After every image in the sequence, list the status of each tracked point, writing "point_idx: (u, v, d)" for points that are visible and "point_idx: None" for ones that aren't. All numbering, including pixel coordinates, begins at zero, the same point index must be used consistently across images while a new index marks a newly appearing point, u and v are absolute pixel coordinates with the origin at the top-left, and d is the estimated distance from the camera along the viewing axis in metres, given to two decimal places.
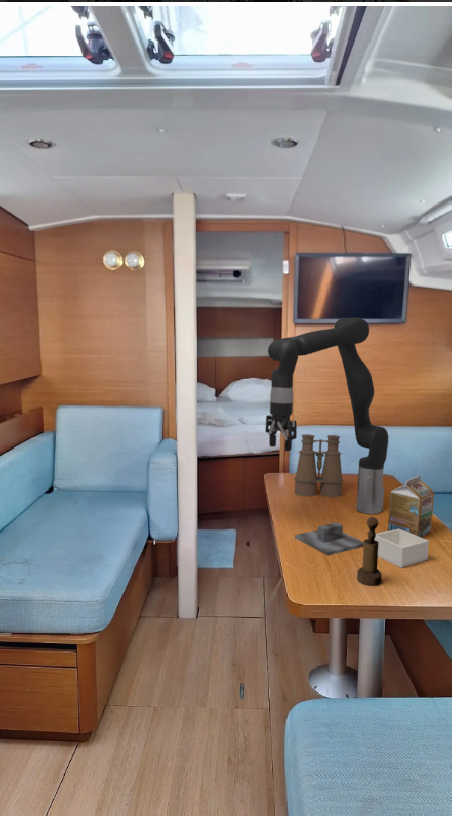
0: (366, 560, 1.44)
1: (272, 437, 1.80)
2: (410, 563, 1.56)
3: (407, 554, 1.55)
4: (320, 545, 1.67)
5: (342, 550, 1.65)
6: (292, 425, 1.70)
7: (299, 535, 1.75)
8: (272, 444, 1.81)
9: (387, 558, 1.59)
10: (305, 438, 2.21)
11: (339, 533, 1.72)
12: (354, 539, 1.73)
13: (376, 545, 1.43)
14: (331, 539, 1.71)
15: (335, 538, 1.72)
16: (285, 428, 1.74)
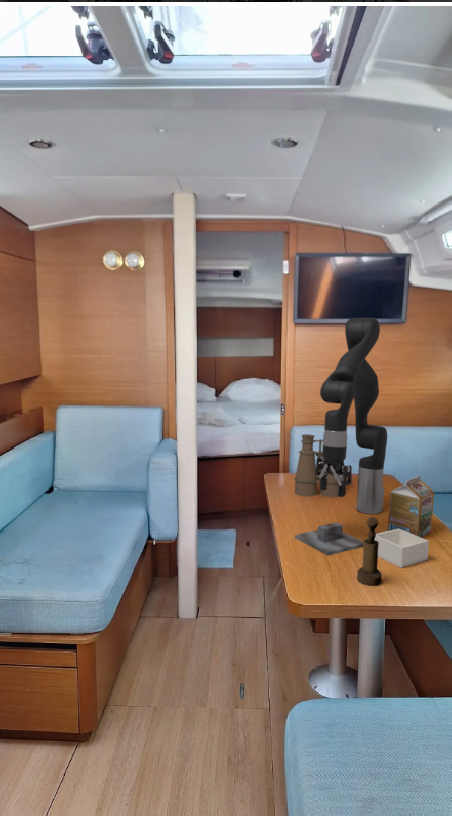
0: (366, 560, 1.44)
1: (323, 480, 1.73)
2: (410, 563, 1.56)
3: (407, 554, 1.55)
4: (320, 545, 1.67)
5: (342, 550, 1.65)
6: (347, 470, 1.63)
7: (299, 535, 1.75)
8: (323, 488, 1.74)
9: (387, 558, 1.59)
10: (305, 438, 2.21)
11: (339, 533, 1.72)
12: (354, 539, 1.73)
13: (376, 545, 1.43)
14: (331, 539, 1.71)
15: (335, 538, 1.72)
16: (339, 473, 1.67)
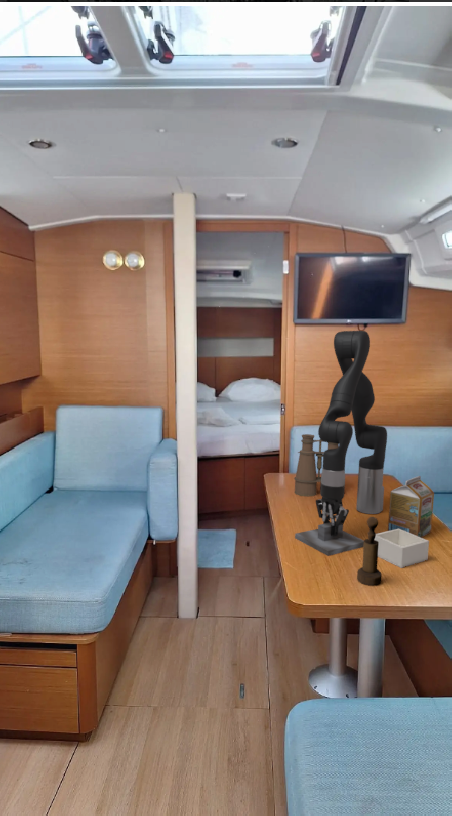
0: (366, 560, 1.44)
1: None
2: (410, 563, 1.56)
3: (407, 554, 1.55)
4: (320, 544, 1.67)
5: (342, 549, 1.65)
6: (343, 515, 1.66)
7: (299, 534, 1.75)
8: None
9: (387, 558, 1.59)
10: (305, 438, 2.21)
11: (339, 532, 1.72)
12: (354, 538, 1.72)
13: (376, 545, 1.43)
14: (331, 538, 1.71)
15: (335, 537, 1.72)
16: None
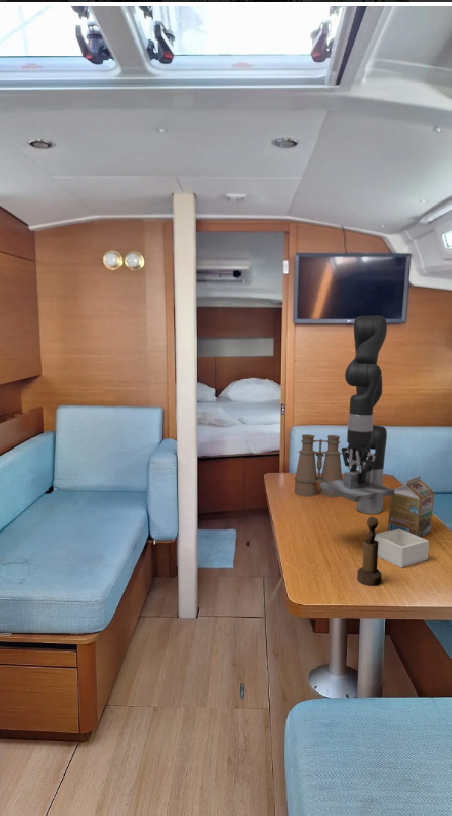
0: (366, 560, 1.44)
1: None
2: (410, 563, 1.56)
3: (407, 554, 1.55)
4: (347, 491, 1.61)
5: (370, 495, 1.58)
6: (371, 460, 1.59)
7: (324, 483, 1.69)
8: None
9: (387, 558, 1.59)
10: (305, 438, 2.21)
11: (366, 480, 1.66)
12: (382, 487, 1.66)
13: (376, 545, 1.43)
14: (358, 486, 1.64)
15: (362, 485, 1.65)
16: None
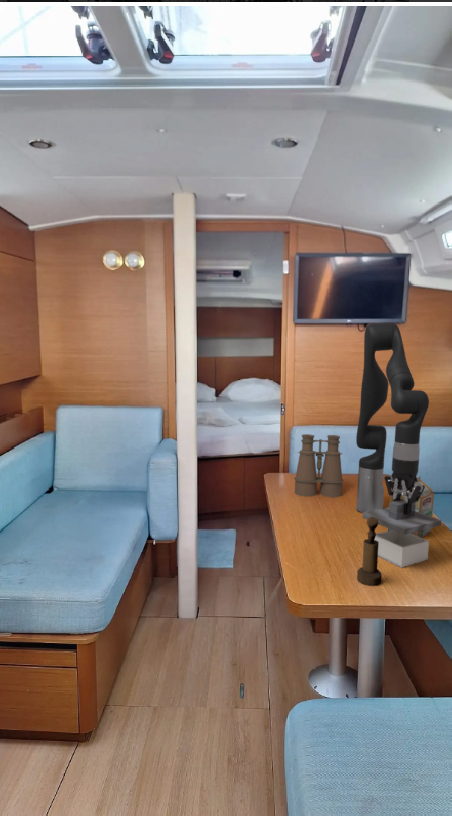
0: (366, 560, 1.44)
1: None
2: (410, 563, 1.56)
3: (407, 554, 1.55)
4: (394, 522, 1.55)
5: (418, 527, 1.53)
6: (419, 491, 1.54)
7: (367, 513, 1.63)
8: None
9: (387, 558, 1.59)
10: (305, 438, 2.21)
11: (412, 510, 1.60)
12: (428, 516, 1.60)
13: (376, 545, 1.43)
14: (404, 516, 1.59)
15: (408, 515, 1.60)
16: None
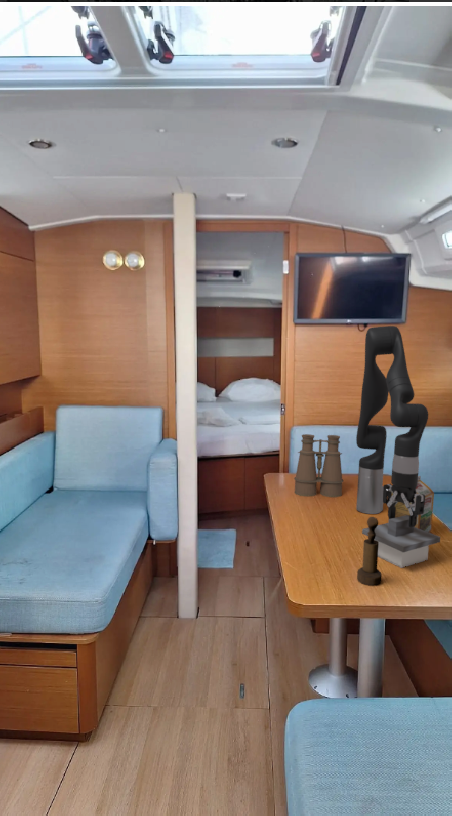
0: (366, 560, 1.44)
1: (392, 509, 1.63)
2: (410, 563, 1.56)
3: (407, 554, 1.55)
4: (393, 539, 1.56)
5: (417, 544, 1.53)
6: (421, 500, 1.54)
7: (367, 529, 1.64)
8: (391, 517, 1.63)
9: (387, 558, 1.59)
10: (305, 438, 2.21)
11: None
12: (427, 533, 1.61)
13: (376, 545, 1.43)
14: (403, 533, 1.60)
15: (407, 532, 1.60)
16: (410, 501, 1.57)
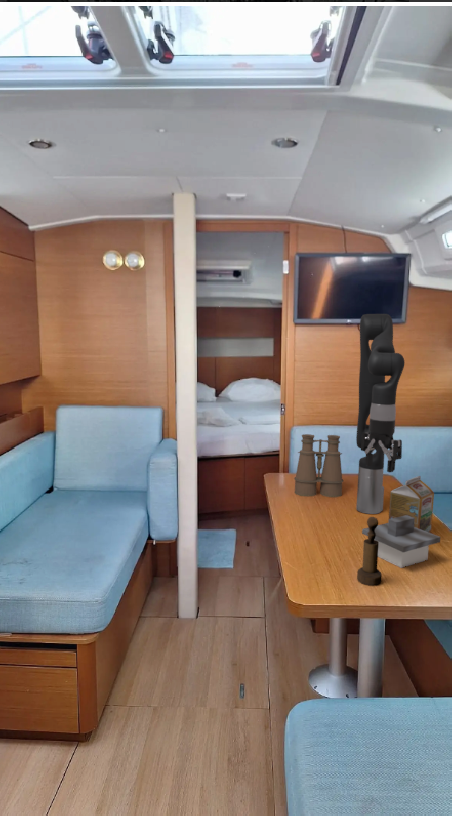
0: (366, 560, 1.44)
1: (369, 456, 1.69)
2: (410, 563, 1.56)
3: (407, 554, 1.55)
4: (393, 539, 1.56)
5: (417, 544, 1.53)
6: (398, 445, 1.59)
7: (367, 529, 1.64)
8: (369, 463, 1.69)
9: (387, 558, 1.59)
10: (305, 438, 2.21)
11: (411, 526, 1.61)
12: (427, 533, 1.61)
13: (376, 545, 1.43)
14: (403, 533, 1.60)
15: (407, 532, 1.60)
16: (387, 447, 1.62)
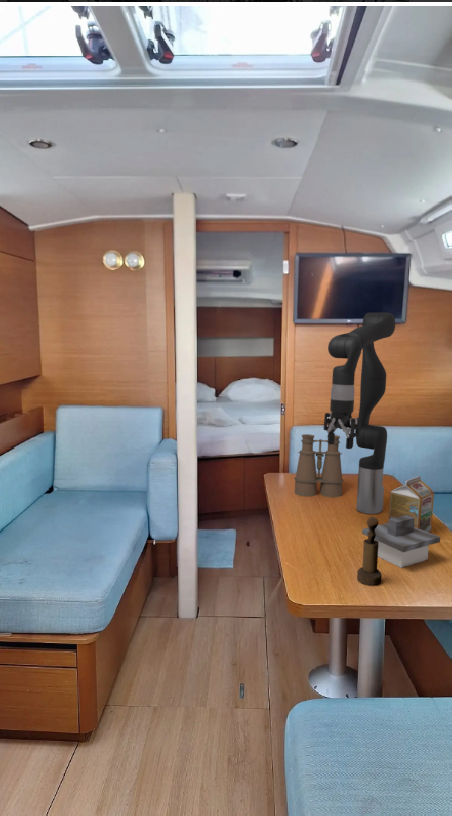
0: (366, 560, 1.44)
1: (331, 435, 1.79)
2: (410, 563, 1.56)
3: (407, 554, 1.55)
4: (393, 539, 1.56)
5: (417, 544, 1.53)
6: (355, 423, 1.69)
7: (367, 529, 1.64)
8: (331, 442, 1.79)
9: (387, 558, 1.59)
10: (305, 438, 2.21)
11: (411, 526, 1.61)
12: (427, 533, 1.61)
13: (376, 545, 1.43)
14: (403, 533, 1.60)
15: (407, 532, 1.60)
16: (346, 426, 1.73)
